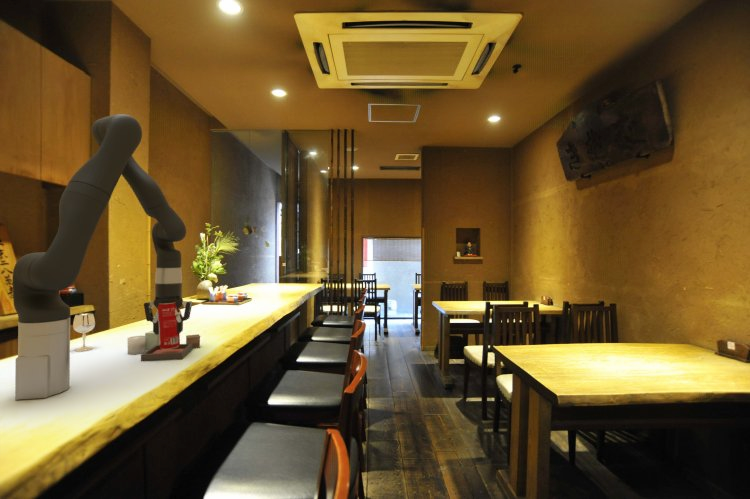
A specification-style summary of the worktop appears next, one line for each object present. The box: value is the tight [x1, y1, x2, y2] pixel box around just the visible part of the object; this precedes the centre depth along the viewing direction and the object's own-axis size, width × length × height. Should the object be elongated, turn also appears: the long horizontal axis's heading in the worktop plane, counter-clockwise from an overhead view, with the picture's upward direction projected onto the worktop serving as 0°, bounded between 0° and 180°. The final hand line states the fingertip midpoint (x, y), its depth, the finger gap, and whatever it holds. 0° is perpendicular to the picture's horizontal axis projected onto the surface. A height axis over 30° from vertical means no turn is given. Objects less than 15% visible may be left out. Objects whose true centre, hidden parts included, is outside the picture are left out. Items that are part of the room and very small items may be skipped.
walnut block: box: [185, 334, 201, 349], centre depth 128 cm, size 4×4×4 cm
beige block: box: [126, 335, 146, 356], centre depth 121 cm, size 5×5×5 cm
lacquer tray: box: [140, 343, 193, 362], centre depth 118 cm, size 12×12×2 cm
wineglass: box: [72, 312, 96, 352], centre depth 124 cm, size 6×6×12 cm
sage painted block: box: [144, 330, 160, 351], centre depth 125 cm, size 4×4×6 cm
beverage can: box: [157, 302, 181, 350], centre depth 118 cm, size 6×6×15 cm
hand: (168, 333), depth 118 cm, fingers closed on beverage can, 5 cm apart
